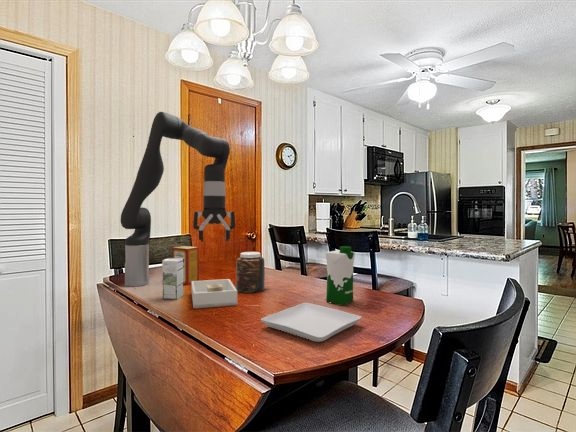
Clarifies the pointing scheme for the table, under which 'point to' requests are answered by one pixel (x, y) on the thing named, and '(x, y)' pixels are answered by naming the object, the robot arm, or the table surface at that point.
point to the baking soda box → (188, 262)
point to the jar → (250, 272)
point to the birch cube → (214, 288)
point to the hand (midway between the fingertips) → (214, 241)
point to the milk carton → (340, 275)
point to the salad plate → (311, 321)
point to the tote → (213, 294)
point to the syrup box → (172, 278)
